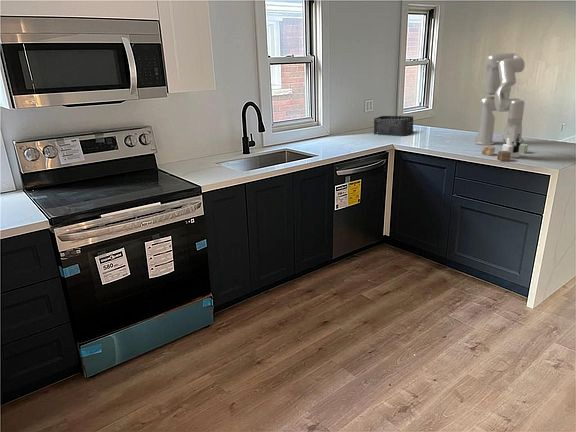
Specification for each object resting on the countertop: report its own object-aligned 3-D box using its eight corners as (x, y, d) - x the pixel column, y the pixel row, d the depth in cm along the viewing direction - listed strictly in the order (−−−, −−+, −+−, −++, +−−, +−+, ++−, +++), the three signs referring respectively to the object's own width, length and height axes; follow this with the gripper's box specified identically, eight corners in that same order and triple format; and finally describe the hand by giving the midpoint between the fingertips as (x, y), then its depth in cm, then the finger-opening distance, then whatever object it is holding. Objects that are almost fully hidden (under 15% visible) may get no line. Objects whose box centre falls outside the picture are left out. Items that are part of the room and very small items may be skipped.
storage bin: (372, 134, 350) (372, 118, 346) (382, 130, 365) (382, 115, 360) (405, 136, 334) (405, 119, 329) (414, 132, 348) (414, 116, 344)
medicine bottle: (512, 154, 259) (515, 135, 254) (519, 157, 252) (522, 137, 248) (501, 155, 259) (503, 136, 254) (507, 158, 252) (510, 138, 248)
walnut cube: (497, 159, 251) (498, 151, 249) (505, 159, 251) (506, 150, 249) (501, 161, 246) (502, 153, 244) (509, 160, 246) (510, 152, 244)
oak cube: (481, 154, 264) (482, 146, 263) (487, 153, 266) (488, 145, 265) (488, 155, 260) (489, 147, 258) (494, 154, 262) (495, 146, 260)
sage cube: (515, 152, 264) (516, 144, 262) (518, 151, 267) (519, 143, 265) (523, 153, 260) (524, 145, 259) (527, 152, 263) (528, 144, 262)
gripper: (499, 120, 255) (496, 148, 262) (519, 124, 239) (515, 154, 245) (510, 119, 256) (506, 147, 263) (531, 123, 240) (526, 153, 247)
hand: (510, 150), depth 254 cm, fingers closed on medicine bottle, 7 cm apart
